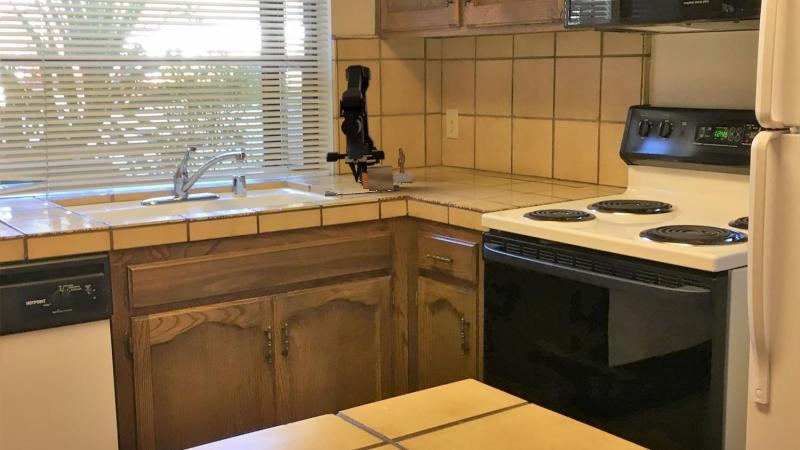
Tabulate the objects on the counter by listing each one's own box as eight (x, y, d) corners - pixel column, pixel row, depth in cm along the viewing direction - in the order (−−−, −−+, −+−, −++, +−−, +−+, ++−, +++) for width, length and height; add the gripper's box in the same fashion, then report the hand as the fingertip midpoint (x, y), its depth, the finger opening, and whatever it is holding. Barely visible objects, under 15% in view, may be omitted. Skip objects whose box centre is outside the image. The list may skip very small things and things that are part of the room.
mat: (326, 191, 300) (325, 190, 300) (398, 186, 301) (398, 184, 300) (325, 196, 289) (324, 194, 289) (400, 190, 290) (400, 188, 290)
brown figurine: (394, 181, 315) (391, 147, 313) (404, 180, 316) (402, 146, 314) (400, 184, 306) (398, 148, 304) (411, 183, 307) (409, 147, 305)
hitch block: (368, 187, 300) (366, 166, 298) (392, 185, 300) (391, 164, 299) (368, 191, 290) (367, 169, 289) (393, 189, 290) (392, 167, 289)
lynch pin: (361, 187, 297) (360, 171, 296) (411, 183, 298) (410, 168, 297) (361, 189, 292) (360, 173, 291) (411, 185, 293) (410, 169, 292)
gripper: (324, 137, 283) (327, 187, 286) (384, 134, 284) (386, 184, 287) (325, 134, 294) (328, 182, 297) (383, 132, 295) (385, 180, 298)
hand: (356, 182), depth 294 cm, fingers closed
